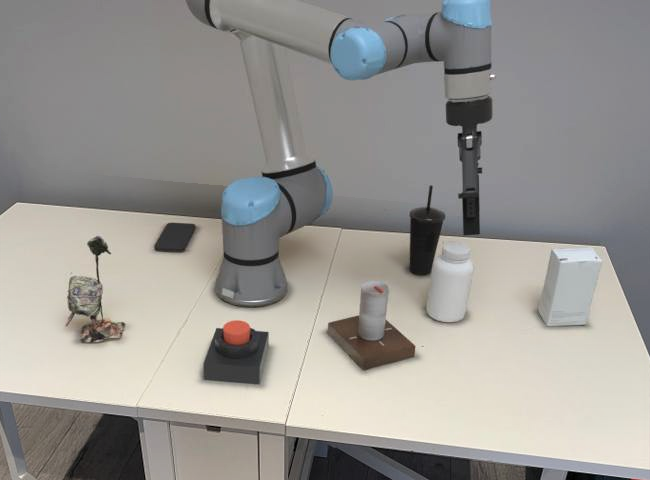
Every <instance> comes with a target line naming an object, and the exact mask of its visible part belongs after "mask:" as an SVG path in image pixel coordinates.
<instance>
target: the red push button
mask: <svg viewBox="0 0 650 480" xmlns="http://www.w3.org/2000/svg"><path fill="white" fill-rule="evenodd" d="M222 328H223V336H224V341H225V342H227V343H229V344H235V345H239V344H244V343H247V342H248V341H249V340H250V328H251V326H250V324H249V323H248V322H247V321H245V320H239V319H237V320H230V321H228V322H226V323H224V324H223V327H222Z"/></svg>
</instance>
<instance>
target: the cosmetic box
mask: <svg viewBox="0 0 650 480" xmlns="http://www.w3.org/2000/svg"><path fill="white" fill-rule="evenodd" d="M602 264H603V260H602V258H601V257H600V256H599V254H597V252H596V251H595V250H594V248H593V247H592V246H589V247H567V248H566V247H565V248H551V250H550V255H549V259H548V264H547V268H546V274H545V279H544V283H543V287H542V293H541V296H540V297H541V298H540V301H539V302H540V303H539V306H538V314H539V315H540V317H541V318H542V320H543V322H544V324H545V325H546V326H547V327H560V326H562V327H563V326H585V325H587V322H588V318H589V314H590V312H591V311H590V310H591V307H592V303H593V299H594V295H595V291H596V287H597V284H598V279H599V276H600V272H601V269H602Z"/></svg>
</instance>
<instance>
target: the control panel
mask: <svg viewBox="0 0 650 480" xmlns="http://www.w3.org/2000/svg"><path fill="white" fill-rule="evenodd" d="M358 323H359V314H358V315H355V316H350V317H347V318H342V319H338V320H334V321H330V322H327V335H328V336H330V338H331V339H332V340H333V341H334V342H335V343H336V344H337V345H338V346H339V347H340V348H341V349H342V350H343V351H344V352H345V353H346V354H347V355H348V356H349V358H351V359H352V360H353V361H354V363H355V364H356V365H357V366H358V367H359V368H360V369H361V370H362V371H366V370H370V369H374V368H378V367H382V366H386V365H390V364H393V363H396V362H401V361H404V360H408V359H411V358H414V357H415V354H416V345H415V344H414V343H413V342H412V341H411V340H410V339H409V338H407V336H405V335H404V334H403V333H402V332H401V331H400V330H398V329H397V328H396V327H395V325H393V324H392V323H391V322H390V321H388V320H387V319H386V321H385V331H384V336H383V338H381V339H379V340H375V341H370V340H365V339H363V338H361V337H360V336H359V335H358Z"/></svg>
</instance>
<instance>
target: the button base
mask: <svg viewBox="0 0 650 480" xmlns="http://www.w3.org/2000/svg"><path fill="white" fill-rule="evenodd" d="M269 333H270V332H269V331H262V330H261V331H260V330H256V329H254V328H252V327H250V340H249V341H248V342H247V343H244V344H239V345H235V344H229V343H227V342H225V341H224V336H223V327H216V328H215V331H214V333H213V337H212V338H211V342H210V344H209V347H208V349H207V352H206V355H205V358H204V361H203V379H204V381H209V382H210V381H211V382H222V383H234V384H235V383H236V384H246V385H249V384H250V385H260V383H261V381H262V378H263V377H262V376H263V372H264V369H265V364H266V360H267V356H268V353H269V349H270V347H269V345H270V343H269V342H270V339H269V338H270V337H269Z"/></svg>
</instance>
